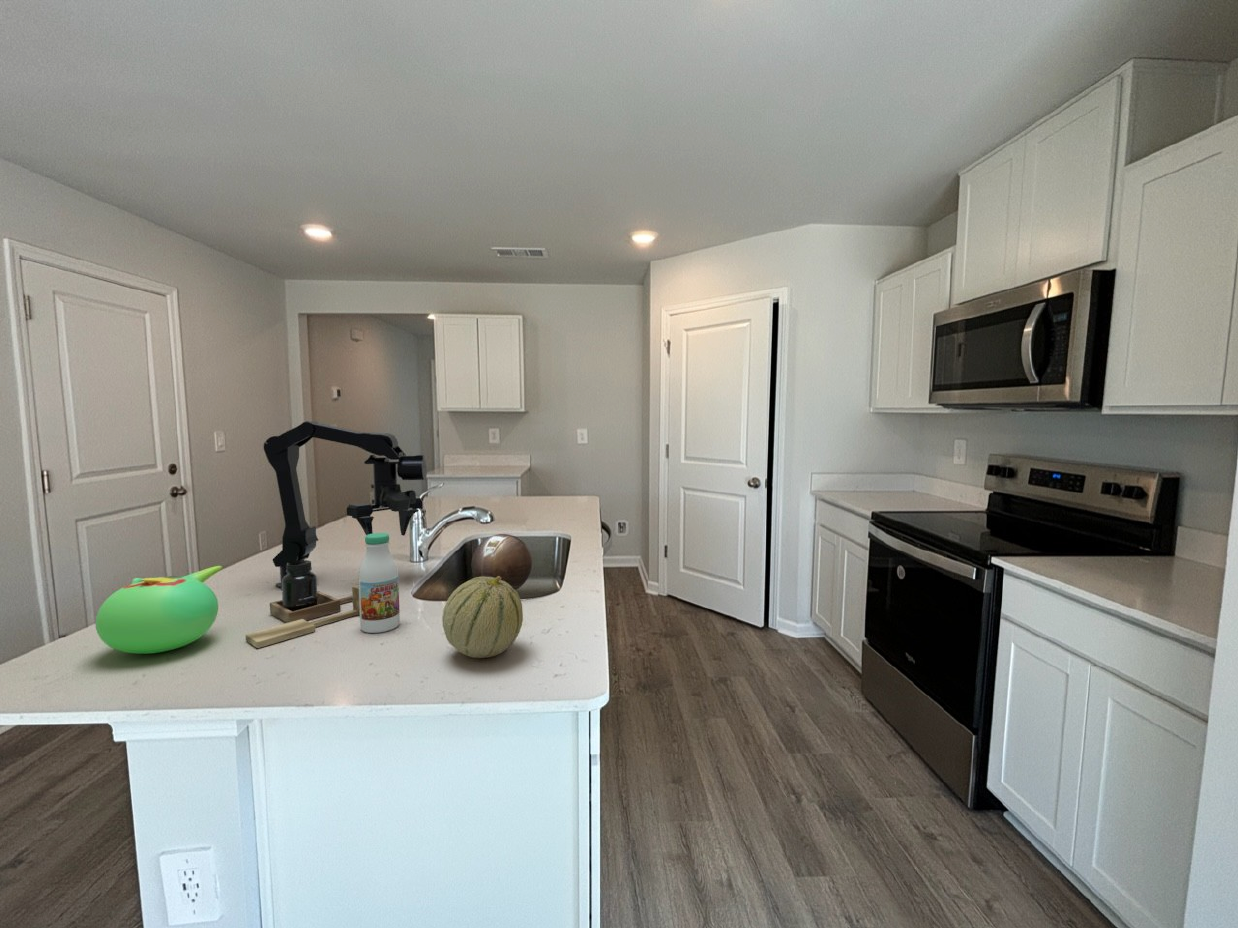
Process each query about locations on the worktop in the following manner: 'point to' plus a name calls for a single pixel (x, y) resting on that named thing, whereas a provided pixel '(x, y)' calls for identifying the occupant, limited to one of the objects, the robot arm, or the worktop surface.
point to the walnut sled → (309, 608)
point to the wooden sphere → (503, 560)
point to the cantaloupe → (482, 617)
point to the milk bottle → (378, 587)
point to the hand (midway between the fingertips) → (387, 538)
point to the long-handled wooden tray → (298, 626)
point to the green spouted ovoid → (158, 613)
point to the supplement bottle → (299, 586)
